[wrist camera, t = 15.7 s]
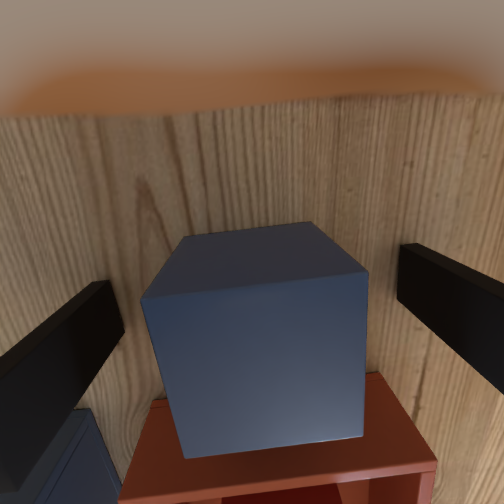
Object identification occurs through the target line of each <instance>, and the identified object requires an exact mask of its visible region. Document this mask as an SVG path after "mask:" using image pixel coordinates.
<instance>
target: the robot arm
mask: <svg viewBox="0 0 504 504" xmlns="http://www.w3.org/2000/svg"><path fill="white" fill-rule="evenodd" d="M397 300H398V301H399V302H400V303H401V304H402V305H404V306H405V307H406V308H407V309H408V310H409V311H410V312H411V313H413V314H414V315H415V316H416V317H417V318H418V319H419V320H420V321H421V322H423V323H424V324H425V325H426V326H427V327H428V328H429V329H430V330H432V331H433V332H434V333H435V334H436V335H437V336H438V337H439V338H441V339H442V340H443V341H444V342H445V343H446V344H447V345H448V346H449V347H451V348H452V349H453V350H454V351H455V352H456V353H457V354H458V355H460V356H461V357H462V358H463V359H464V360H465V361H466V362H467V363H469V364H470V365H471V366H472V367H473V368H474V369H475V370H476V371H478V372H479V373H480V374H481V375H482V376H483V377H484V378H485V379H486V380H488V381H489V382H490V383H491V384H492V385H493V386H494V387H495V388H497V389H498V390H499V391H500V392H501V393H502V394H503V395H504V283H502V282H499V281H497V280H495V279H493V278H491V277H489V276H487V275H484V274H482V273H480V272H478V271H476V270H474V269H472V268H470V267H467V266H465V265H463V264H461V263H459V262H457V261H455V260H453V259H450V258H448V257H446V256H444V255H442V254H440V253H438V252H435V251H433V250H431V249H429V248H427V247H425V246H423V245H421V244H418V243H413V244H404V245H400V256H399V271H398V286H397ZM124 333H125V330H124V327H123V323H122V320H121V317H120V314H119V311H118V307H117V304H116V301H115V298H114V295H113V291H112V288H111V285H110V282H109V280H104V281H96V282H91V283H90V284H89V285H88V286H86V287H85V288H84V289H83V290H82V291H80V292H79V293H78V294H77V295H75V296H74V297H73V298H72V299H71V300H69V301H68V302H67V303H66V304H65V305H63V306H62V307H61V308H60V309H58V310H57V311H56V312H55V313H54V314H52V315H51V316H50V317H49V318H48V319H46V320H45V321H44V322H43V323H41V324H40V325H39V326H38V327H37V328H35V329H34V330H33V331H32V332H30V333H29V334H28V335H27V336H26V337H24V338H23V339H22V340H21V341H20V342H18V343H17V344H16V345H15V346H13V347H12V348H11V349H10V350H9V351H7V352H6V353H5V354H4V355H2V356H1V357H0V494H5V493H14V492H18V491H19V490H20V488H21V487H22V485H23V484H24V482H25V481H26V479H27V478H28V476H29V475H30V473H31V472H32V470H33V469H34V467H35V466H36V464H37V463H38V461H39V460H40V458H41V457H42V455H43V454H44V452H45V451H46V449H47V448H48V446H49V445H50V443H51V442H52V441H53V439H54V438H55V436H56V435H57V433H58V432H59V430H60V429H61V427H62V426H63V424H64V423H65V421H66V420H67V418H68V417H69V415H70V414H71V412H72V411H73V409H74V408H75V406H76V405H77V403H78V402H79V400H80V399H81V397H82V396H83V394H84V393H85V391H86V390H87V388H88V387H89V385H90V384H91V382H92V381H93V379H94V378H95V376H96V375H97V373H98V372H99V370H100V369H101V367H102V366H103V364H104V363H105V361H106V360H107V358H108V357H109V355H110V354H111V352H112V351H113V349H114V348H115V346H116V345H117V343H118V342H119V340H120V339H121V337H122V336H123V334H124Z"/></svg>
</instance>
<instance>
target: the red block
mask: <svg viewBox="0 0 504 504" xmlns="http://www.w3.org/2000/svg"><path fill="white" fill-rule="evenodd" d="M221 504H343V503H342V499H341V496H340V493H339V489H338V486H337V483H331V484H323V485H315V486H308V487H300V488H292V489H284V490H276V491H268V492H261V493H253V494H245V495H237V496H229V497H222V498H221Z"/></svg>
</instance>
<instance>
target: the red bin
mask: <svg viewBox="0 0 504 504" xmlns="http://www.w3.org/2000/svg"><path fill="white" fill-rule="evenodd" d="M437 462H438V460H437V458H436V457H435V455H434V454H433V452H432V451H431V449H430V447H429V446H428V444H427V443H426V441H425V440H424V438H423V437H422V435H421V434H420V432H419V431H418V429H417V428H416V426H415V425H414V423H413V422H412V420H411V419H410V417H409V416H408V414H407V413H406V411H405V410H404V408H403V407H402V405H401V404H400V402H399V401H398V399H397V398H396V396H395V394H394V393H393V391H392V390H391V388H390V387H389V385H388V384H387V382H386V381H385V380H384V378H383V376H382V375H381V373H380V372H378V373H370V374H365V402H364V434H363V436H362V437H354V438H346V439H338V440H330V441H322V442H315V443H307V444H299V445H291V446H283V447H275V448H267V449H259V450H251V451H243V452H236V453H228V454H220V455H212V456H204V457H196V458H188V459H185V458H184V456H183V452H182V448H181V445H180V441H179V438H178V434H177V431H176V427H175V424H174V420H173V416H172V413H171V409H170V406H169V402H168V399H162V400H154V401H152V404H151V407H150V410H149V413H148V416H147V418H146V421H145V424H144V427H143V430H142V432H141V435H140V438H139V441H138V444H137V446H136V449H135V452H134V455H133V458H132V461H131V463H130V466H129V469H128V472H127V475H126V477H125V480H124V483H123V486H122V489H121V491H120V494H119V497H118V501H117V502H118V504H221V498H222V497H229V496H237V495H245V494H253V493H261V492H268V491H276V490H284V489H292V488H300V487H308V486H315V485H323V484H331V483H337V486H338V489H339V493H340V496H341V499H342V503H343V504H431V499H432V493H433V487H434V481H435V475H436V468H437Z"/></svg>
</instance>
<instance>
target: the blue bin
mask: <svg viewBox="0 0 504 504" xmlns="http://www.w3.org/2000/svg"><path fill="white" fill-rule="evenodd" d="M121 489H122V485H121V483H120V481H119V478H118V476H117V473H116V471H115V468H114V466H113V464H112V461H111V459H110V456H109V454H108V451H107V449H106V446H105V444H104V442H103V439H102V437H101V434H100V432H99V429H98V427H97V425H96V422H95V420H94V417H93V415H92V412H91V410H90V409H82V410H74V411H72V412H71V414H70V415H69V417H68V418H67V420H66V421H65V423H64V424H63V426H62V427H61V429H60V430H59V432H58V433H57V435H56V436H55V438H54V439H53V441H52V442H51V443H50V445H49V446H48V448H47V449H46V451H45V452H44V454H43V455H42V457H41V458H40V460H39V461H38V463H37V464H36V466H35V467H34V469H33V470H32V472H31V473H30V475H29V476H28V478H27V479H26V481H25V482H24V484H23V485H22V487H21V488H20V490H19V491H18V492H14V493H5V494H0V504H118V502H117V501H118V497H119V494H120V491H121Z"/></svg>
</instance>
